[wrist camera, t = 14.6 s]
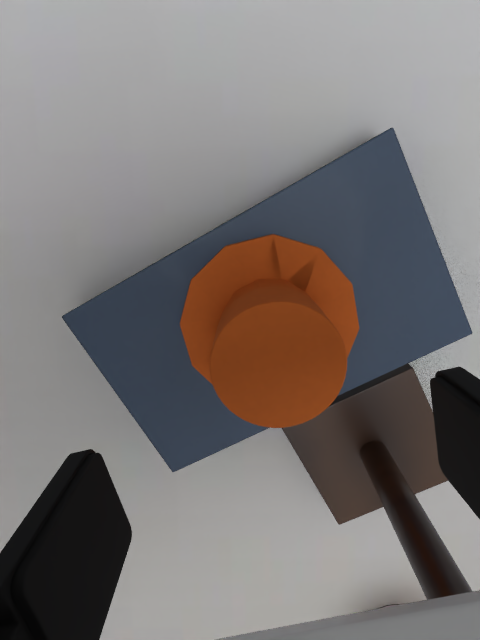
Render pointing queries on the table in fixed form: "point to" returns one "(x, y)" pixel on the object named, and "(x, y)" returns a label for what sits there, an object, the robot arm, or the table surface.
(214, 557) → the table surface
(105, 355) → the low stand
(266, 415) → the hat
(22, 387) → the table surface
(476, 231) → the table surface
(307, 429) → the hat stand
